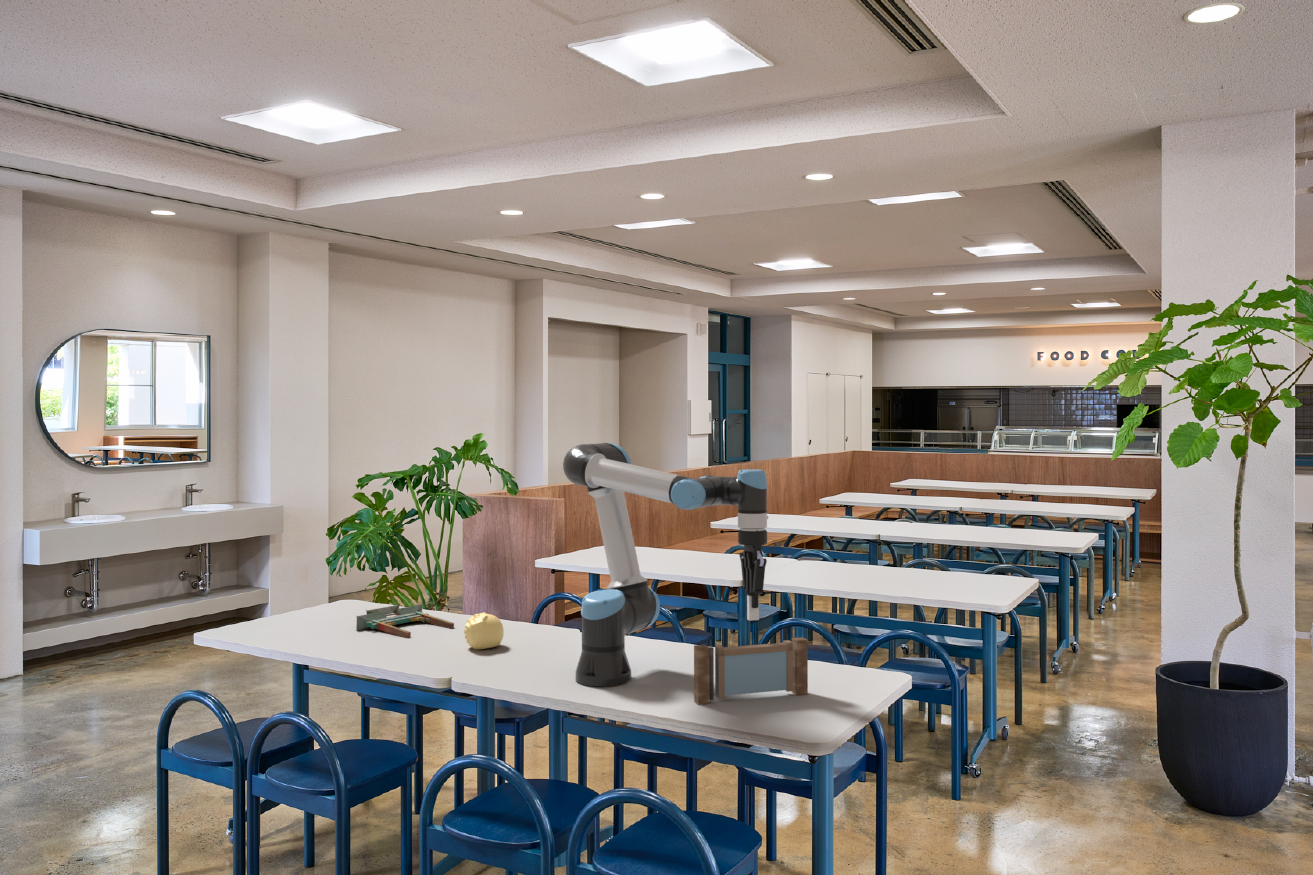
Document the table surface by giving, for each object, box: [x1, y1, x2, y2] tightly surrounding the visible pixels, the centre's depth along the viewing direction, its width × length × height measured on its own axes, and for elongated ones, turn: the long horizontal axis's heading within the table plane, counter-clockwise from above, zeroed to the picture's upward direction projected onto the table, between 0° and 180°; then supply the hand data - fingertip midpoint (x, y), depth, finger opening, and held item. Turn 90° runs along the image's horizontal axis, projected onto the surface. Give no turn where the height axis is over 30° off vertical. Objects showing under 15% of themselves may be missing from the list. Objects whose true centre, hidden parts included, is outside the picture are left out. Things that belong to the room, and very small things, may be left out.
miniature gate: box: [355, 603, 455, 639], centre depth 326 cm, size 27×6×30 cm
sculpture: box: [463, 611, 505, 650], centre depth 296 cm, size 12×12×11 cm
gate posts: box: [693, 636, 809, 706], centre depth 240 cm, size 30×3×14 cm, turn 106°
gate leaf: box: [714, 639, 793, 699], centre depth 241 cm, size 20×3×12 cm, turn 106°
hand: (753, 619), depth 248 cm, fingers closed
